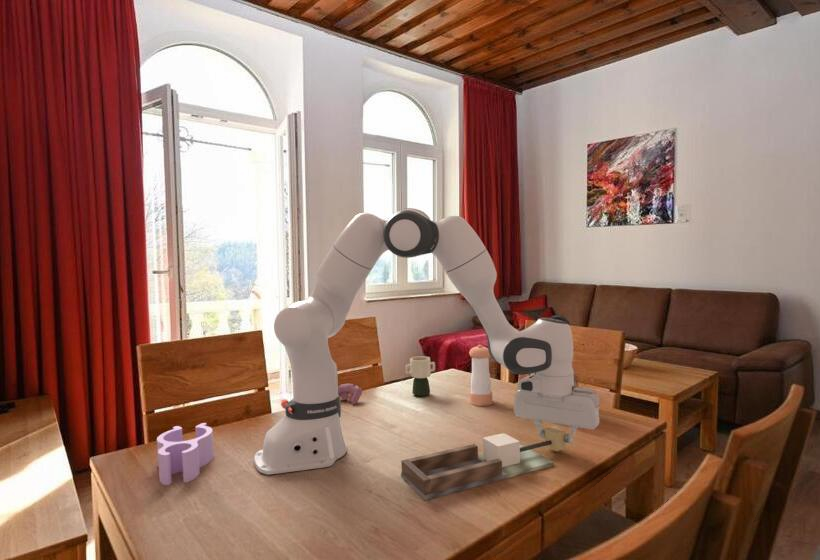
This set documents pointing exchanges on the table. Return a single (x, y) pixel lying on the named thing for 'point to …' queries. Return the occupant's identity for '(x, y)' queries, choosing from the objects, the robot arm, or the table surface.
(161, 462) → the clip
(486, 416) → the table surface
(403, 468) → the shelf lane
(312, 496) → the table surface
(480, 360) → the pepper shaker
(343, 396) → the video game controller
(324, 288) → the robot arm
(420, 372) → the cream green tall piece
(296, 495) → the table surface
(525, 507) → the table surface
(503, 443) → the block plunger with rod
